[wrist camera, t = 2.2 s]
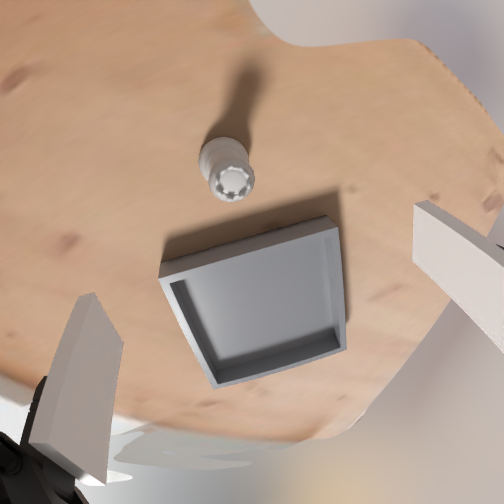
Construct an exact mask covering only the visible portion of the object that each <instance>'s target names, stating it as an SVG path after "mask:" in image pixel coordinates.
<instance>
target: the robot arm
mask: <svg viewBox="0 0 504 504" xmlns="http://www.w3.org/2000/svg"><path fill="white" fill-rule="evenodd" d="M412 261H413V262H414V263H415V264H416V265H418V266H419V267H420V268H421V269H422V270H423V271H424V272H425V273H426V274H427V275H428V276H429V277H430V278H431V279H432V280H433V281H434V282H436V283H437V284H438V285H439V286H440V287H441V288H442V289H443V290H444V291H445V292H446V293H447V294H448V295H449V296H450V297H451V298H452V299H453V300H454V301H455V302H456V303H457V304H458V305H459V306H460V307H461V308H462V309H463V310H464V311H465V312H466V313H467V314H468V315H469V316H470V318H471V319H472V320H473V321H474V322H475V323H476V324H477V325H478V326H479V327H480V328H481V329H482V330H483V331H484V332H485V334H486V335H487V336H488V337H489V338H490V339H491V340H492V341H493V342H494V343H495V345H496V346H497V347H498V348H499V349H500V350H501V351H502V352H503V354H504V247H501V246H499V245H497V244H494V243H493V242H492V241H490V240H488V239H487V238H486V237H484V236H483V235H481V234H480V233H479V232H477V231H476V230H474V229H473V228H471V227H470V226H468V225H467V224H465V223H463V222H462V221H460V220H459V219H457V218H456V217H454V216H453V215H451V214H449V213H448V212H446V211H445V210H443V209H441V208H440V207H438V206H436V205H435V204H433V203H431V202H430V201H428V200H426V201H422V202H419V203H415V204H414V219H413V248H412ZM123 344H124V342H123V341H122V339H121V338H120V336H119V334H118V333H117V331H116V329H115V328H114V326H113V324H112V323H111V321H110V319H109V318H108V316H107V314H106V312H105V311H104V309H103V307H102V305H101V304H100V302H99V300H98V298H97V296H96V295H95V293H90V294H86V295H83V296H79V297H78V299H77V301H76V304H75V306H74V308H73V311H72V313H71V316H70V318H69V320H68V323H67V325H66V328H65V330H64V333H63V335H62V338H61V341H60V343H59V346H58V348H57V351H56V354H55V357H54V359H53V362H52V365H51V368H50V371H49V374H48V376H44V377H43V379H42V380H41V382H40V383H39V385H38V386H37V388H36V390H35V393H34V396H33V402H32V403H31V406H30V409H29V410H30V412H28V416H27V419H26V423H25V426H24V430H23V433H22V437H21V441H20V445H18V444H17V443H15V442H14V441H13V440H12V439H11V438H10V437H8V436H7V435H6V434H5V433H3V432H0V504H89V503H88V501H87V500H86V499H85V497H84V495H83V494H82V492H81V491H80V490H79V489H78V488H77V487H76V486H75V478H76V479H78V480H79V481H81V482H82V483H84V484H85V485H98V486H106V478H107V464H108V452H109V441H110V432H111V423H112V415H113V407H114V400H115V393H116V386H117V379H118V373H119V367H120V361H121V355H122V350H123Z"/></svg>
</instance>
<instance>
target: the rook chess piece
mask: <svg viewBox="0 0 504 504" xmlns="http://www.w3.org/2000/svg"><path fill="white" fill-rule="evenodd" d="M198 164H199V168H200V172H201V174H202V175H203V176H204V178H205V179H206V180H207V181H208V183H209V187H210V190H211V191H212V193H213V194H214V195H215V197H217V198H219V199H220V200H222V201H227V202H235V201H239V200H242V199H243V198H245V197H246V196H248V195H249V193H250V192H251V190H252V189H253V186H254V182H255V176H254V171H253V169H252V168H251V166H250V165H249V159H248V154H247V151H246V150H245V148H244V147H243V145H242V144H241V143H240V142H238V141H237V140H235V139H233V138H228V137H219V138H215V139H212V140H211V141H210V142H208V143H207V144H205V146H204V147H203V149H202V150H201V152H200V154H199V160H198Z"/></svg>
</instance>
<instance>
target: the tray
mask: <svg viewBox="0 0 504 504" xmlns="http://www.w3.org/2000/svg"><path fill="white" fill-rule="evenodd" d="M158 279H159V282H160V284H161V286H162V288H163V290H164V293H165V295H166V297H167V299H168V301H169V303H170V305H171V308H172V310H173V312H174V314H175V316H176V318H177V320H178V322H179V324H180V326H181V328H182V330H183V332H184V334H185V336H186V338H187V340H188V342H189V344H190V346H191V348H192V350H193V352H194V354H195V356H196V358H197V360H198V362H199V363H200V365H201V367H202V369H203V371H204V373H205V375H206V377H207V378H208V380H209V382H210V384H211V386H212V387H213V389H218V388H222V387H226V386H230V385H234V384H238V383H241V382H245V381H249V380H253V379H256V378H260V377H263V376H267V375H270V374H274V373H277V372H281V371H284V370H287V369H290V368H294V367H297V366H300V365H303V364H306V363H309V362H312V361H315V360H318V359H321V358H324V357H327V356H330V355H333V354H336V353H338V352H341V351H344V350H347V346H346V322H345V303H344V288H343V275H342V263H341V252H340V241H339V232H338V226H337V225H336V224H335V223H334V222H333V221H332V220H331V219H330V218H329V217H328V216H327V215H326V216H322V217H319V218H315V219H311V220H308V221H304V222H301V223H297V224H293V225H290V226H286V227H283V228H279V229H276V230H272V231H269V232H265V233H262V234H258V235H255V236H251V237H248V238H244V239H241V240H237V241H234V242H230V243H227V244H223V245H220V246H216V247H213V248H210V249H206V250H203V251H199V252H196V253H192V254H189V255H186V256H182V257H179V258H175V259H172V260H169V261H165V262H162V263H160V270H159V277H158Z"/></svg>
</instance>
